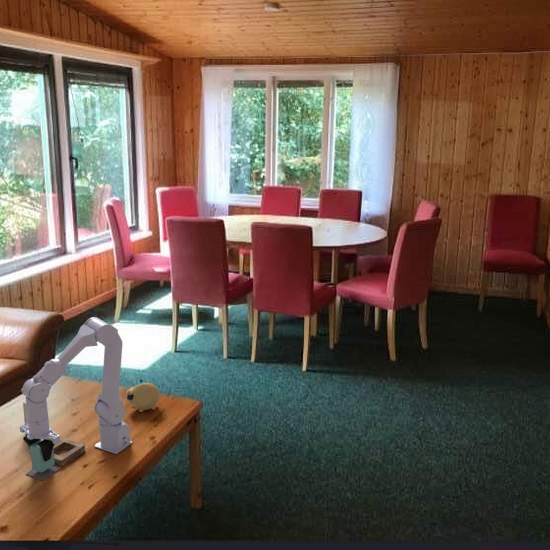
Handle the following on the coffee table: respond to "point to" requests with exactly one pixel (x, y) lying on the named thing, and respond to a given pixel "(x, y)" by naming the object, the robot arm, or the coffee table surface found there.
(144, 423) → the coffee table surface
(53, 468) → the mat
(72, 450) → the block
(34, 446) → the teal block
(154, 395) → the cream rounded figure
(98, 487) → the coffee table surface
